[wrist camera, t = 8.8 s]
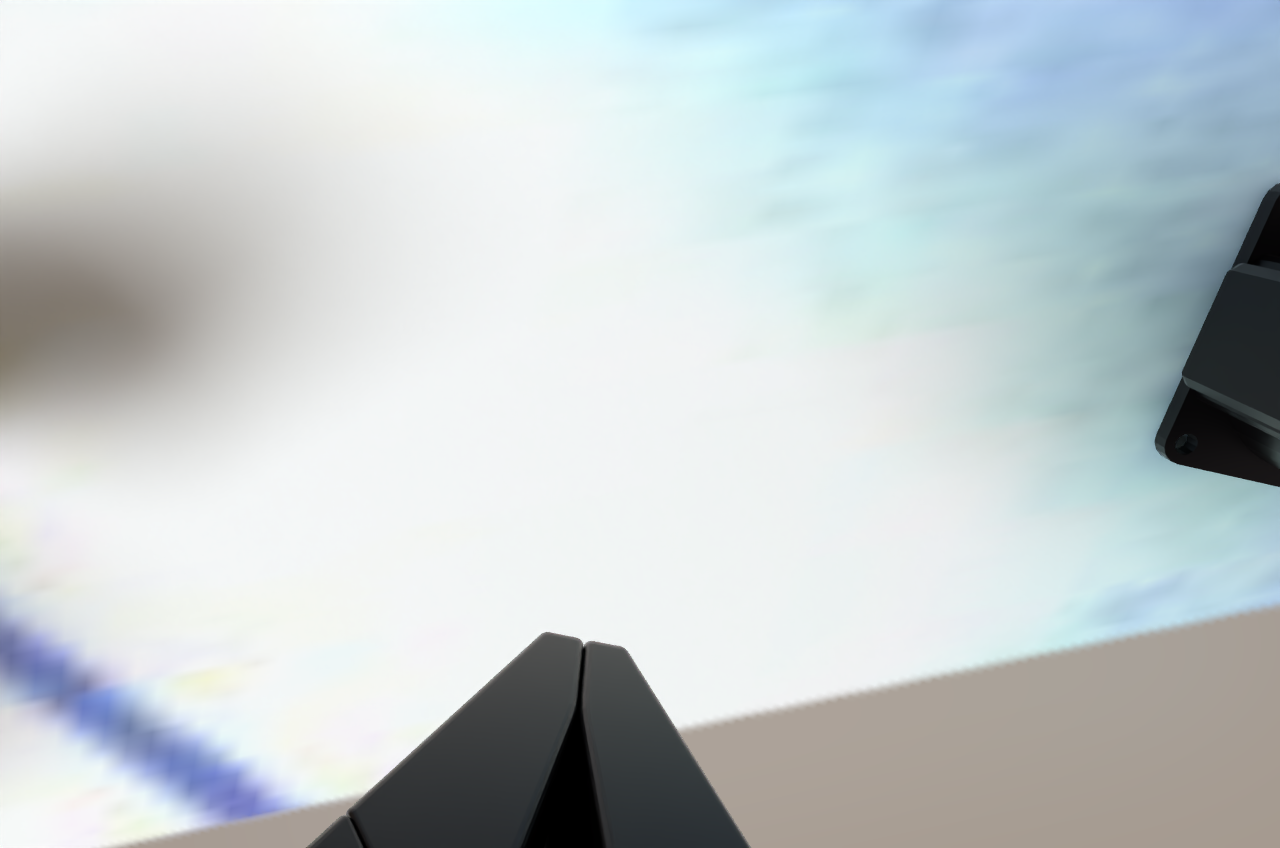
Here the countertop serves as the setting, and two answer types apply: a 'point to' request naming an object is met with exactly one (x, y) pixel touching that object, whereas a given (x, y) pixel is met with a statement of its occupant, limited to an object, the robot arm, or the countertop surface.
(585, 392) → the countertop surface
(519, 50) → the countertop surface
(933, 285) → the countertop surface
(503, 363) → the countertop surface
